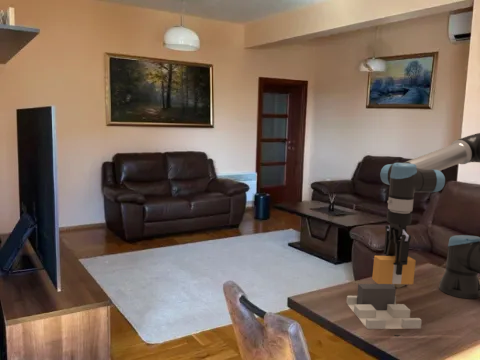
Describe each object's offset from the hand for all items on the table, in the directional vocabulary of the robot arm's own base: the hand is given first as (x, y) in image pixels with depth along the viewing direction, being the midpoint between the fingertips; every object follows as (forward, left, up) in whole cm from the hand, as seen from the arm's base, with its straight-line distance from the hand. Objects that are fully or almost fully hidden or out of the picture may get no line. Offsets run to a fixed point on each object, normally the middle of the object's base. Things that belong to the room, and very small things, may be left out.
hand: (392, 280), depth 144 cm
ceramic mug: (-18, -35, -16) cm, 42 cm away
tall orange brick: (0, 0, 0) cm, 0 cm away
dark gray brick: (0, -11, -14) cm, 18 cm away
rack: (0, -5, -15) cm, 16 cm away
